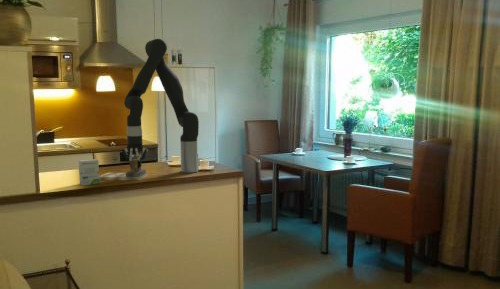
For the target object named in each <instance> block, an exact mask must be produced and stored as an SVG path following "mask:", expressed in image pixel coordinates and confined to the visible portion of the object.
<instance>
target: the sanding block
mask: <svg viewBox="0 0 500 289" xmlns="http://www.w3.org/2000/svg"><path fill="white" fill-rule="evenodd" d="M129 168H130V169H129V171H127V172H125V173H126V177H140V176H142V175H144V174H145V173H147V169H142V166H141V167H140V168H138V158H133V160H131V161H129Z"/></svg>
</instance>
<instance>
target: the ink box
mask: <svg viewBox="0 0 500 289" xmlns="http://www.w3.org/2000/svg"><path fill="white" fill-rule="evenodd" d="M78 171H79V173H78V174H79V185H80V186H90V185H91V186H92V185H99V184H100V180H99V176H100V167H99V160H98V159H82V160H78Z"/></svg>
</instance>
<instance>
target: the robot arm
mask: <svg viewBox="0 0 500 289" xmlns="http://www.w3.org/2000/svg"><path fill="white" fill-rule="evenodd" d="M144 49H145V53H146V55H147V59H146V62H145V63H144V65H143V66H142V68H141V69H140V70H139V71H138V72H139V73H138V74H137V76H136V77H135V80H134V82H133V85H132V87H131V89H130V90H129V91H128V93H127V94H126V96H125V97H124V107H125V108H126V109H128V110H129V114H128V115H127V117H126V128H127V129H126V137H127V138H126V139H127V140H126V141H127V143H126V144H127V145H126V147H125V148H122V149H121V152H122V154H123V157H124V158H125V160H127V161H128V162H130V161H131V160H133V159H134V156H135V155H136V157H137V158H136V159H138V168H140V167H141V168H142V161H143V160H145V159H146V157H147V154H148V152H149V149H148V148H145V147H144V145H143V129H142V116H143V109H144V102H143V99H142V96H143V95H144V94H145V93H146V92H147V90H148V87H149V85H150V83H151V80H152V78H153V75H154V73H155V72H156V73H157V76H158V78H159V80H160V83H161V85H162V87H163V89H164V92H165V94H166V95H167V98H168V100H169V102H170V104H171V106H172V108H173V110H174V113H175V116H176V120H177V123H178V125H179V126H180V128H182V133H181V135H180V170H181V171H180V172H182V173H188V174H189V173H190V174H191V173H198V171H199V153H198V137H199V131H200V130H199V128H200V127H199V117H198V115H197V114H196V113H194V112H191V111H190V110H189V109H188V107H187V105H186V103H185V98H184V89H183V86H182V85H181V84H182V83H181V81H180V79H179V78H178V75H177V74H176V73H175V71H174V70H173V69H172V68H171V67H170V66H169V64H168V63H167V62H166V58H165V57H164V56H165V54H166V53H167V50H168V45H167V43H166V42H165V40H164V39H162V38H154V39H152V40H148V41H147V42H146V43H145V47H144ZM128 152H129V154H128ZM141 152H142V153H141Z"/></svg>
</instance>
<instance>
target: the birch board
mask: <svg viewBox="0 0 500 289" xmlns="http://www.w3.org/2000/svg"><path fill="white" fill-rule="evenodd" d="M126 173H127V172H106V173H104V174H101V175H99V181H142V180H143V179H144V178H146V177H148V172H146V173H145V174H144V175H142V176H140V177H126Z"/></svg>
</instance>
